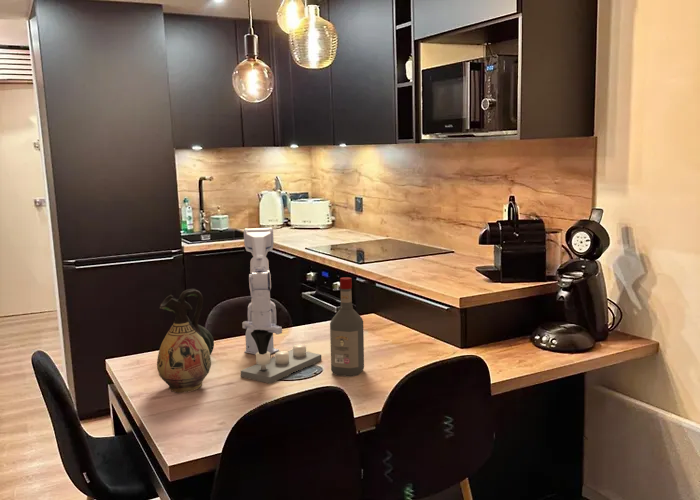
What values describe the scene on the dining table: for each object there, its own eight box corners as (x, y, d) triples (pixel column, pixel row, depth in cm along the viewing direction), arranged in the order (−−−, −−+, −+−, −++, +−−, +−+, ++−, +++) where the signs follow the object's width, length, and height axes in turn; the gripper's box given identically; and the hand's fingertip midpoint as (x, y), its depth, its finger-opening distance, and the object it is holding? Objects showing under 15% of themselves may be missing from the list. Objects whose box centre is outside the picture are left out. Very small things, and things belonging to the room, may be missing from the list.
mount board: (240, 376, 203) (240, 370, 202) (293, 354, 224) (293, 349, 224) (270, 383, 196) (269, 377, 196) (321, 360, 217) (321, 354, 217)
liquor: (356, 377, 200) (354, 281, 195) (328, 375, 203) (326, 280, 198) (366, 368, 208) (364, 276, 204) (339, 365, 211) (337, 275, 207)
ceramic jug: (162, 400, 184) (156, 297, 180) (155, 383, 198) (149, 287, 194) (222, 391, 191) (217, 290, 186) (211, 375, 205) (206, 281, 200)
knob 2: (290, 361, 217) (290, 346, 216) (298, 357, 220) (298, 343, 220) (301, 363, 214) (300, 348, 214) (309, 359, 218) (308, 345, 217)
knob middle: (272, 368, 209) (272, 353, 209) (281, 365, 213) (281, 350, 212) (283, 371, 207) (282, 356, 206) (292, 367, 211) (291, 352, 210)
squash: (196, 335, 231) (174, 310, 220) (228, 342, 223) (207, 317, 213) (174, 369, 223) (150, 345, 213) (207, 378, 216) (184, 354, 205)
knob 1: (253, 369, 202) (252, 354, 201) (263, 365, 205) (262, 350, 205) (264, 372, 199) (263, 356, 199) (273, 368, 203) (273, 352, 202)
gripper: (234, 310, 200) (236, 353, 202) (270, 316, 192) (272, 360, 194) (250, 305, 206) (252, 347, 208) (285, 311, 198) (287, 354, 200)
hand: (262, 353), depth 202 cm, fingers closed, pressing on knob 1
